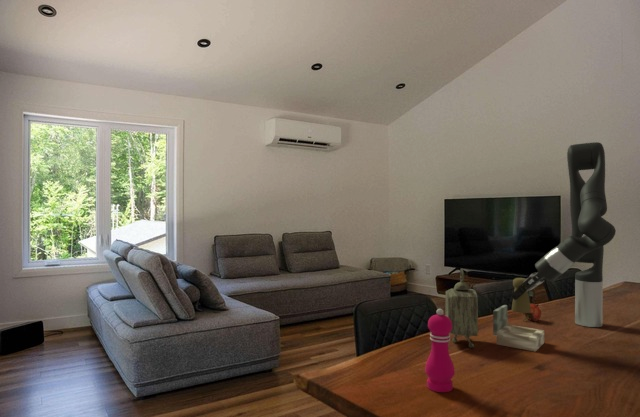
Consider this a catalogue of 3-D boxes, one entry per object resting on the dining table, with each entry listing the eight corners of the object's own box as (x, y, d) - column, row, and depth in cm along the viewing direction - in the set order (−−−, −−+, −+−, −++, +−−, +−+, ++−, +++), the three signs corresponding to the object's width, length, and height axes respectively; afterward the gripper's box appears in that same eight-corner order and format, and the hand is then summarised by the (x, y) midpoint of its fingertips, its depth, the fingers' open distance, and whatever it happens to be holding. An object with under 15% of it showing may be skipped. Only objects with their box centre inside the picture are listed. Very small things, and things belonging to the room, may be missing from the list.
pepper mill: (421, 382, 117) (421, 305, 117) (448, 381, 118) (448, 305, 117) (430, 393, 110) (430, 312, 110) (459, 392, 110) (459, 311, 110)
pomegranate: (533, 329, 177) (551, 313, 178) (521, 314, 177) (539, 298, 178) (522, 326, 184) (539, 310, 185) (511, 312, 184) (528, 296, 186)
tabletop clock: (477, 350, 143) (478, 272, 143) (448, 348, 145) (448, 271, 145) (471, 337, 157) (472, 266, 157) (445, 336, 159) (445, 265, 159)
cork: (533, 313, 147) (533, 279, 147) (513, 312, 148) (513, 279, 148) (528, 309, 153) (528, 277, 153) (509, 308, 154) (509, 276, 154)
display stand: (503, 335, 160) (503, 304, 160) (544, 342, 152) (544, 310, 152) (493, 343, 150) (493, 310, 150) (535, 351, 142) (535, 316, 142)
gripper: (550, 253, 151) (512, 285, 159) (540, 256, 140) (500, 290, 148) (568, 270, 148) (528, 302, 156) (559, 275, 137) (517, 309, 144)
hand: (515, 296), depth 152 cm, fingers closed on cork, 4 cm apart
